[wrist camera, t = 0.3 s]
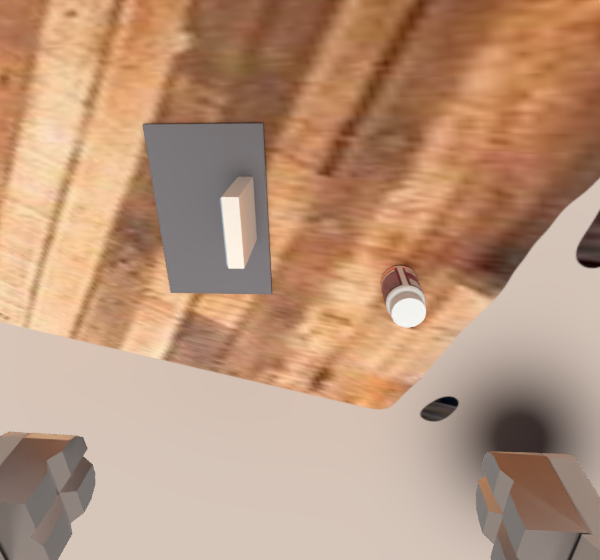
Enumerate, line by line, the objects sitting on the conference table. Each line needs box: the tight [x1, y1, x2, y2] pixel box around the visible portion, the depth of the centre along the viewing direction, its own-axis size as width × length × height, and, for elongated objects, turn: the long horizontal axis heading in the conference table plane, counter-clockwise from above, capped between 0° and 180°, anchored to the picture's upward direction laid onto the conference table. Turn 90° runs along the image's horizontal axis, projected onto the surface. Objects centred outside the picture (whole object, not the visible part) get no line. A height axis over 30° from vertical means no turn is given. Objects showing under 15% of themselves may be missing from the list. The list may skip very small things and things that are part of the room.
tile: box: [220, 177, 257, 269], centre depth 50 cm, size 8×2×9 cm, turn 1°
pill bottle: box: [381, 266, 426, 327], centre depth 54 cm, size 5×5×8 cm
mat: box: [143, 123, 272, 294], centre depth 55 cm, size 22×14×1 cm, turn 1°
